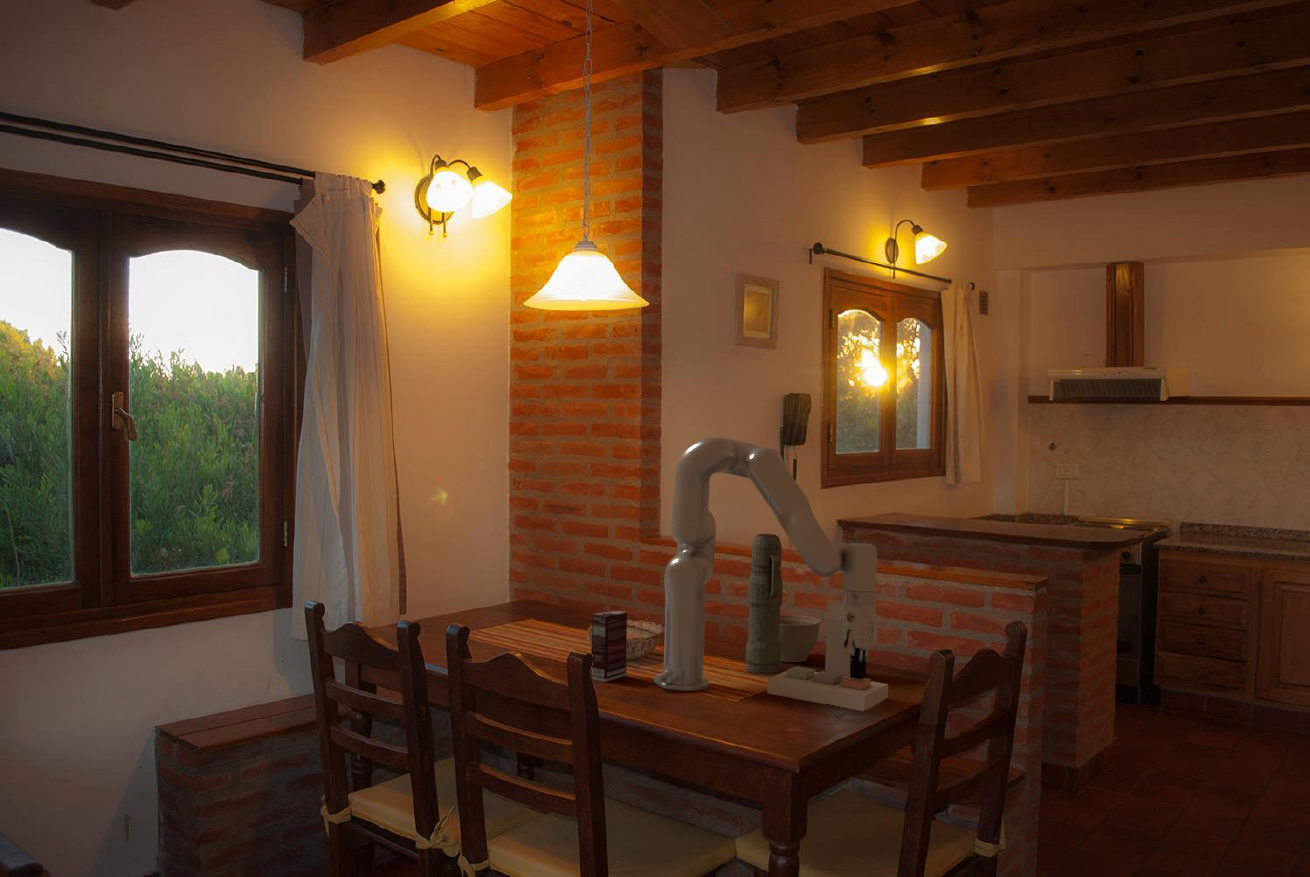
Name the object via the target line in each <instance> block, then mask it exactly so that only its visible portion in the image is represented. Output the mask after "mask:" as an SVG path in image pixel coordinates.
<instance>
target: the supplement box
mask: <svg viewBox="0 0 1310 877" xmlns="http://www.w3.org/2000/svg"><path fill="white" fill-rule="evenodd" d="M591 623H592V624H591V652H590V653H591V654H593V665H592V669H591V668H590V676H591V675H592V679H593V681H597V682H602V683H607V682H610V681H614V680H618V679H620V678H623V677H626V676H627V635H628V630H627V629H628V612H627V611H624V610H623V611H622V610H608V611H603V612H598V613H592V617H591ZM592 679H591V680H592Z"/></svg>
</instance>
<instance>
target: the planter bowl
mask: <svg viewBox="0 0 1310 877" xmlns="http://www.w3.org/2000/svg"><path fill="white" fill-rule="evenodd" d="M820 625H821V620H820V619H818V618H815V617H810V616H806V615H805V616H804V615H803V616H802V615H797V614H780V628H779V641H780V644H781V662H785V663H794V662H796V663H802V662H806V661H807V660H808V656H809V654H810V653H811V652H812V650H813V649H814V648H815V645H816V643H817V640H818V636H819V633H820Z"/></svg>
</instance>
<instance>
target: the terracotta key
mask: <svg viewBox="0 0 1310 877" xmlns="http://www.w3.org/2000/svg"><path fill="white" fill-rule="evenodd" d="M871 680H872V679H871V678H864V679H856V678H851V677H850V676H848V677H846V678H844V679H842V683H841V687H844V688H849V689H855V690H861V691H864V690H866V689H868V688H870V687H871Z"/></svg>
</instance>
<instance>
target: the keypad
mask: <svg viewBox="0 0 1310 877" xmlns="http://www.w3.org/2000/svg"><path fill="white" fill-rule="evenodd" d="M819 672H820V671H815V674H816V673H819ZM844 678H846V676H842V679H844ZM766 692H767V694H771V695H774V696H780V697H786V698H790V699H796V700H800V701H807V702H811V703H817V704H822V705H826V704H830V705H829V706H831V705H835V706H834V707H837V706H840V707H839V708H842V707H846V708H845V709H847V708H851V709H850V710H852V709H856V710H855V711H857V710H862V711H861V712H863V711H865V710H867V709H868V708H870V707H871V706H873V705H874V704H877V703H879V702H881V701H882V700H884V699H886V698H887V697H888V698H889V684H888V683H882V682H878V681H873V680H872V681H871V687H870V688H868V689H866V690H864V691H861V690H855V689H849V688H844V687H841V683H840V684H837V685H835V686H833V685H827V684H822V683H816V682H813V678H812V679H810V680H807V681H805V680H799V679H794V678H788V677H786V671H783V672H781V673H778V674H775V675H773V676H770V677H768V678H767V690H766ZM870 709H871V708H870ZM867 711H868V710H867ZM865 712H866V711H865Z"/></svg>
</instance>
